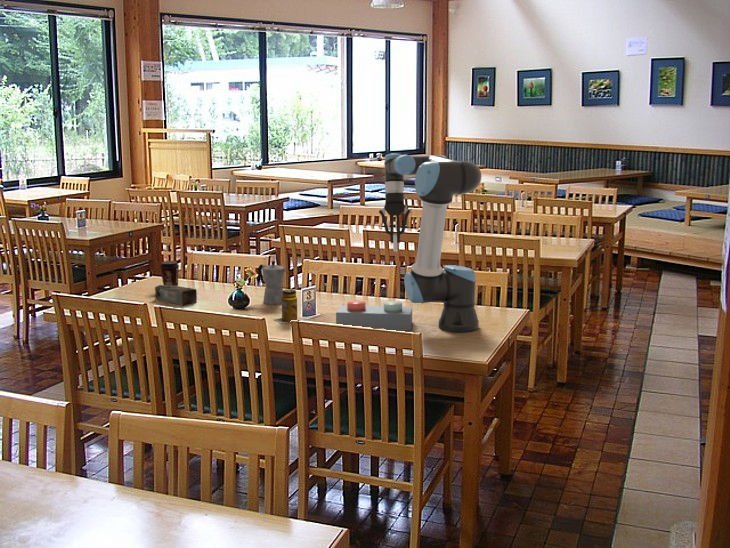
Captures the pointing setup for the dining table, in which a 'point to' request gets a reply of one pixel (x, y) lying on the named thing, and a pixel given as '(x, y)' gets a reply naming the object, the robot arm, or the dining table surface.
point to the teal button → (392, 306)
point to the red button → (356, 305)
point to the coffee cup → (169, 272)
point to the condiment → (288, 306)
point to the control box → (375, 317)
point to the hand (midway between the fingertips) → (395, 251)
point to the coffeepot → (272, 282)
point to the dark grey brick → (176, 294)
